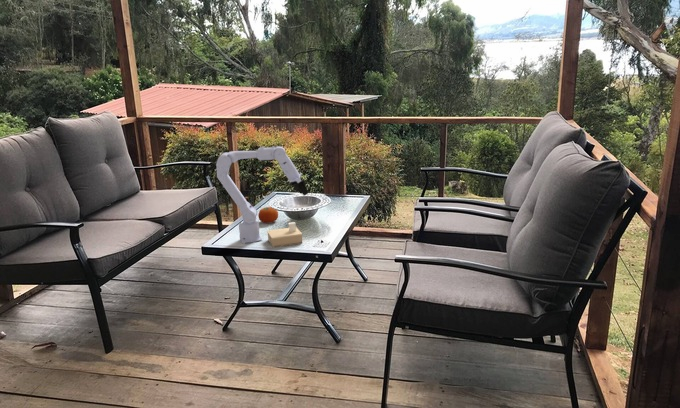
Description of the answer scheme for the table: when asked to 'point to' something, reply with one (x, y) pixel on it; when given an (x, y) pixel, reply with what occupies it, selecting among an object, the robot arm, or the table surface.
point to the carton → (285, 241)
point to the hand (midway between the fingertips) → (304, 193)
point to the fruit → (268, 215)
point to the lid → (285, 232)
